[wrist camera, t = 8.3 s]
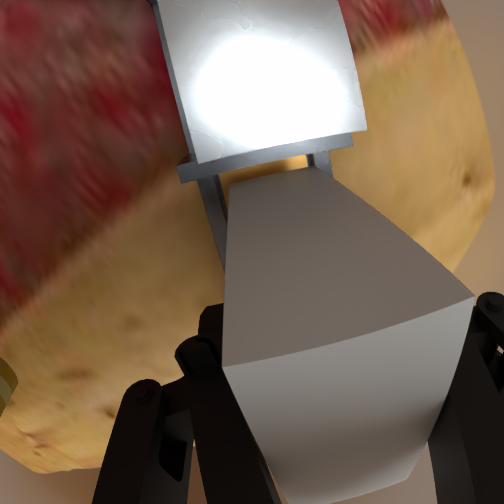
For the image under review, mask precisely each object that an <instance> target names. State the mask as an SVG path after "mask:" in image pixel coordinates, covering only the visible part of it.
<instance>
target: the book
mask: <svg viewBox="0 0 504 504" xmlns="http://www.w3.org/2000/svg"><path fill="white" fill-rule="evenodd" d="M17 384H18V380H17V377H16V375H15V373H14V372H13V370H12V369H11V368H10V367H9V365H8V364H7V363H6V362H5V361H3V360H2V359H1V358H0V417H1V415H2V413H3V411H4V409H5V407H6V405H7V403H8V401H9V399H10V397H11V395H12V393H13V391H14V390H15V388H16V386H17Z"/></svg>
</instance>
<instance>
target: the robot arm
mask: <svg viewBox="0 0 504 504" xmlns="http://www.w3.org/2000/svg"><path fill="white" fill-rule="evenodd" d="M223 315H224V303H221V304H216V305H212V306H207V307H206V308H205V309H204V311H203V312H202V314H201V315H200V320H199V328H198V335H196V336H193V337H191V338H188V339H186V340H185V341H184V342H182V343H181V344H180V345H179V346H178V348H177V349H176V351H175V356H174V357H175V359H176V360H177V362H178V364H179V366H180V368H181V370H182V372H183V373H184V376H183V377H182V378H180V379H178V380H176V381H174V382H171V383H168V384H166V385H163V386H161V385H160V384H159V382H157V381H155V380H152V379H144V380H140V381H138V382H136V383H134V384H132V385H131V386H130V387H129V388H128V389H127V390H126V392H125V394H124V396H123V399H122V402H121V405H120V408H119V411H118V414H117V417H116V420H115V423H114V426H113V430H112V433H111V436H110V439H109V443H108V446H107V449H106V453H105V456H104V460H103V463H102V467H101V470H100V474H99V478H98V481H97V485H96V489H95V493H94V497H93V501H92V504H187V497H188V487H189V477H190V467H191V458H192V450H193V441H194V440H195V445H196V450H197V456H198V462H199V466H200V472H201V476H202V481H203V486H204V491H205V496H206V500H207V504H282V503H281V501H280V498H279V496H278V493H277V490H276V488H275V485H274V482H273V480H272V477H271V475H270V472H269V469H268V466H267V464H266V461H265V458H264V456H263V454H262V452H261V450H260V448H259V446H258V444H257V442H256V440H255V438H254V436H253V434H252V432H251V430H250V428H249V426H248V423H247V421H246V419H245V417H244V415H243V413H242V411H241V409H240V406H239V404H238V402H237V400H236V398H235V396H234V393H233V391H232V389H231V387H230V385H229V382H228V380H227V378H226V376H225V373H224V371H223V369H222V345H223ZM498 346H500V347H501V348H502V349H503V350H504V296H503V295H502V294H500V293H496V292H486V293H483V294H481V295H480V296H479V297H478V299H477V302H476V306H473V310H472V314H471V318H470V322H469V326H468V330H467V334H466V338H465V341H464V345H463V348H462V352H461V355H460V358H459V362H458V365H457V368H456V371H455V374H454V377H453V380H452V382H451V385H450V388H449V391H448V393H447V396H446V399H445V401H444V404H443V406H442V409H441V411H440V414H439V416H438V418H437V421H436V423H435V425H434V427H433V430H432V432H431V434H430V436H429V438H428V445H429V450H430V456H431V462H432V468H433V474H434V481H435V488H436V495H437V503H438V504H504V352H503V354H502V353H500V352H499V351H498V350H497V349H498Z"/></svg>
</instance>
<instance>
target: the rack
mask: <svg viewBox="0 0 504 504" xmlns="http://www.w3.org/2000/svg"><path fill="white" fill-rule="evenodd" d="M147 1H148V3H149V4H150V5H151V6H152V8H153V9H154V13H155V17H156V22H157V26H158V30H159V35H160V39H161V43H162V47H163V52H164V56H165V60H166V64H167V68H168V72H169V76H170V80H171V84H172V88H173V92H174V96H175V100H176V104H177V107H178V111H179V115H180V119H181V123H182V126H183V130H184V134H185V138H186V141H187V145H188V149H189V152H190V153H189V154H188V155H187V156H186V157H185V158H184V159H183V160H182V161H181V162H180V163H179V164H178V165H177V166H176V168H177V171H178V175H179V178H180V182H181V184H182V183H186V182H190V181H193V180H197V181H198V185H199V188H200V192H201V195H202V199H203V202H204V206H205V209H206V212H207V216H208V219H209V223H210V226H211V229H212V233H213V236H214V240H215V243H216V246H217V250H218V253H219V256H220V259H221V263H222V266H223V269H224V272H225V266H226V245H227V225H228V207H229V190H230V184H232V183H237V182H241V181H245V180H249V179H254V178H258V177H262V176H267V175H271V174H276V173H281V172H285V171H290V170H295V169H300V168H305V167H310V166H316V167H318V168H319V169H320V170H322V171H323V172H325V173H326V174H328V175H329V176H331V177H332V178H333V175H332V168H331V162H330V156H329V150H333V149H338V148H344V147H351V146H353V141H352V135H351V132H355V131H363V130H367V124H366V118H365V112H364V107H363V101H362V96H361V91H360V86H359V81H358V76H357V72H356V67H355V63H354V59H353V54H352V50H351V46H350V42H349V39H348V35H347V31H346V27H345V24H344V20H343V17H342V13H341V10H340V7H339V4H338V0H147Z"/></svg>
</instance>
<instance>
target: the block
mask: <svg viewBox="0 0 504 504" xmlns="http://www.w3.org/2000/svg"><path fill="white" fill-rule="evenodd" d="M474 300H475V295H474V294H473V293H472V292H471V291H470V290H469V289H468V288H467V287H466V286H465V285H464V284H463V283H461V281H459V280H458V279H457V278H456V277H455V276H454V275H453V274H452V273H451V272H450V271H449V270H448V269H446V268H445V267H444V266H443V265H442V264H441V263H440V262H439V261H438V260H436V259H435V258H434V257H433V256H432V255H431V254H430V253H428V252H427V251H426V250H425V249H424V248H423V247H421V246H420V245H419V244H418V243H417V242H415V241H414V240H413V239H412V238H411V237H409V236H408V235H407V234H406V233H405V232H403V231H402V230H401V229H400V228H398V227H397V226H396V225H395V224H393V223H392V222H391V221H390V220H388V219H387V218H386V217H385V216H383V215H382V214H381V213H380V212H378V211H377V210H376V209H374V208H373V207H372V206H370V205H369V204H368V203H366V202H365V201H364V200H362V199H361V198H360V197H358V196H357V195H356V194H354V193H353V192H352V191H350V190H349V189H347V188H346V187H345V186H343V185H342V184H340V183H339V182H338V181H336V180H335V179H333V178H332V177H331V176H329V175H328V174H326V173H325V172H323V171H322V170H320V169H319V168H318V167H316V166H310V167H305V168H300V169H295V170H290V171H285V172H281V173H276V174H271V175H267V176H262V177H258V178H254V179H249V180H245V181H241V182H237V183H232V184H230V190H229V207H228V225H227V245H226V266H225V289H224V315H223V345H222V369H223V371H224V373H225V376H226V378H227V380H228V382H229V385H230V387H231V389H232V391H233V393H234V396H235V398H236V400H237V402H238V404H239V406H240V409H241V411H242V413H243V415H244V417H245V419H246V421H247V423H248V426H249V428H250V430H251V432H252V434H253V436H254V438H255V440H256V442H257V444H258V446H259V448H260V450H261V452H262V454H263V456H264V458H265V460H266V462H267V464H268V466H269V468H270V470H271V471H272V473H273V475H274V477H275V479H276V481H277V483H278V485H279V487H280V488H281V490H282V492H283V494H284V496H285V498H286V499H287V501H288V503H289V504H329V503H334V502H338V501H342V500H346V499H349V498H353V497H357V496H360V495H363V494H367V493H370V492H373V491H376V490H379V489H382V488H385V487H388V486H391V485H393V484H396V483H399V482H401V481H404V480H406V479H408V477H409V475H410V473H411V471H412V470H413V468H414V466H415V464H416V462H417V460H418V458H419V456H420V455H421V452H422V451H423V449H424V447H425V444H426V442H427V440H428V438H429V436H430V434H431V432H432V430H433V427H434V425H435V423H436V421H437V418H438V416H439V414H440V411H441V409H442V406H443V404H444V401H445V399H446V396H447V393H448V391H449V388H450V385H451V382H452V380H453V377H454V374H455V371H456V368H457V365H458V362H459V358H460V355H461V352H462V348H463V345H464V341H465V338H466V334H467V330H468V326H469V322H470V318H471V314H472V310H473V305H474Z"/></svg>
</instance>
